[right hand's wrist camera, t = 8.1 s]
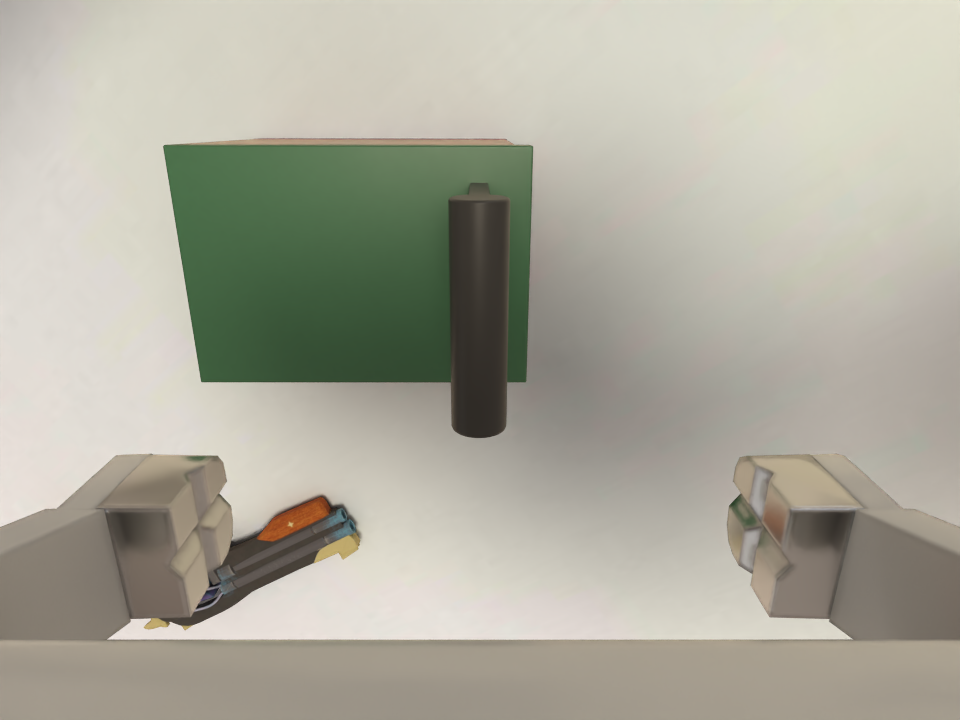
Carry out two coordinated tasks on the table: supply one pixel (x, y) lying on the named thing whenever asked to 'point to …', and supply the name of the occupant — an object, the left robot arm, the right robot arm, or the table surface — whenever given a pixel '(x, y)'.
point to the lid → (359, 265)
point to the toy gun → (274, 556)
